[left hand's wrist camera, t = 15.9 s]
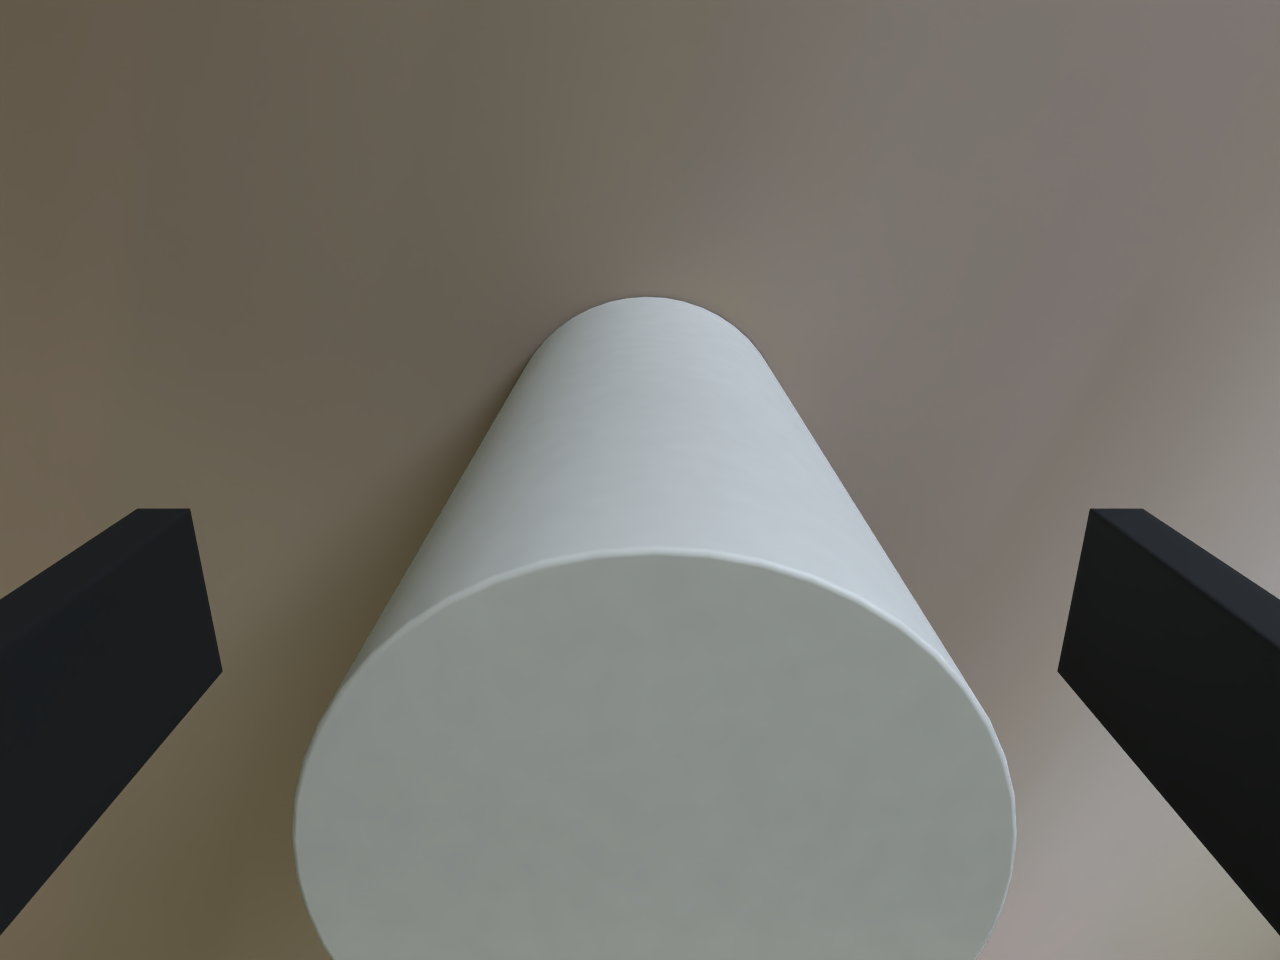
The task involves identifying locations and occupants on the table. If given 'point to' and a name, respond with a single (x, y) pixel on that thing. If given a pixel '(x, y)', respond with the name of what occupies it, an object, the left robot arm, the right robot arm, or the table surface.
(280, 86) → the table surface
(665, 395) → the canister
